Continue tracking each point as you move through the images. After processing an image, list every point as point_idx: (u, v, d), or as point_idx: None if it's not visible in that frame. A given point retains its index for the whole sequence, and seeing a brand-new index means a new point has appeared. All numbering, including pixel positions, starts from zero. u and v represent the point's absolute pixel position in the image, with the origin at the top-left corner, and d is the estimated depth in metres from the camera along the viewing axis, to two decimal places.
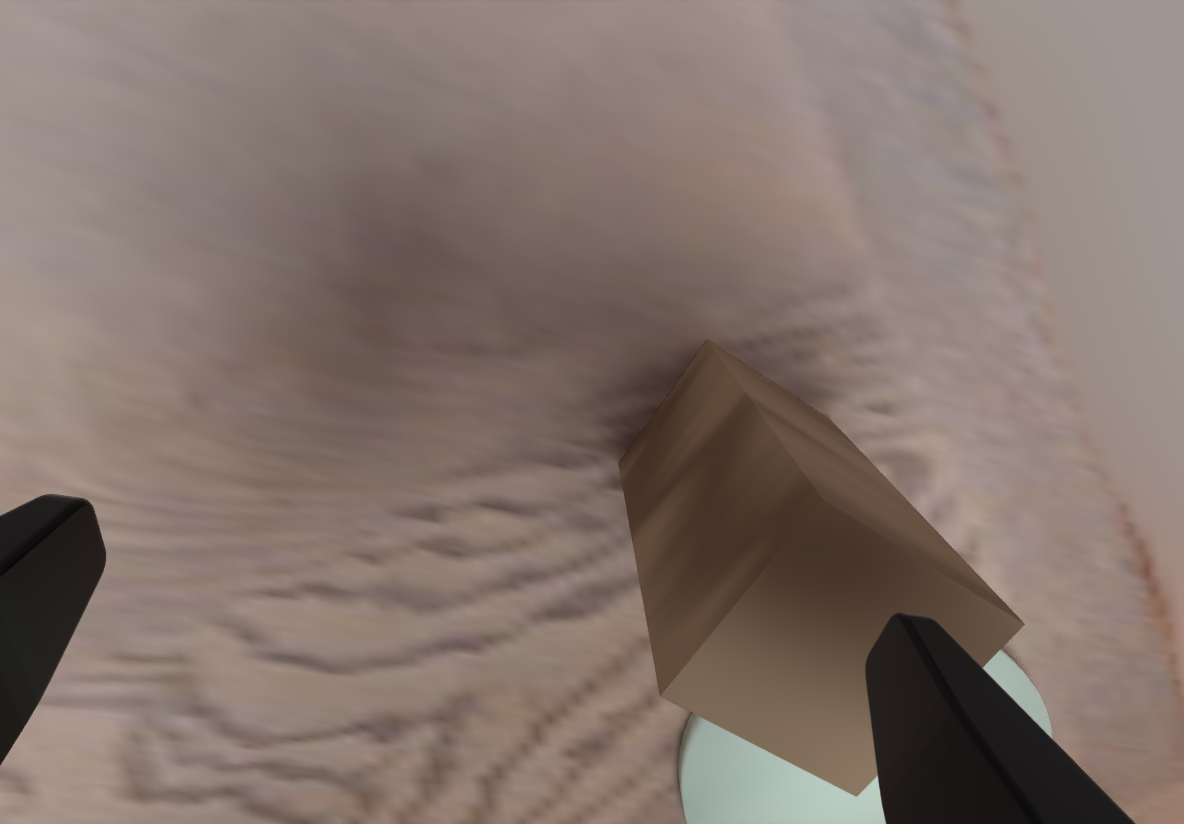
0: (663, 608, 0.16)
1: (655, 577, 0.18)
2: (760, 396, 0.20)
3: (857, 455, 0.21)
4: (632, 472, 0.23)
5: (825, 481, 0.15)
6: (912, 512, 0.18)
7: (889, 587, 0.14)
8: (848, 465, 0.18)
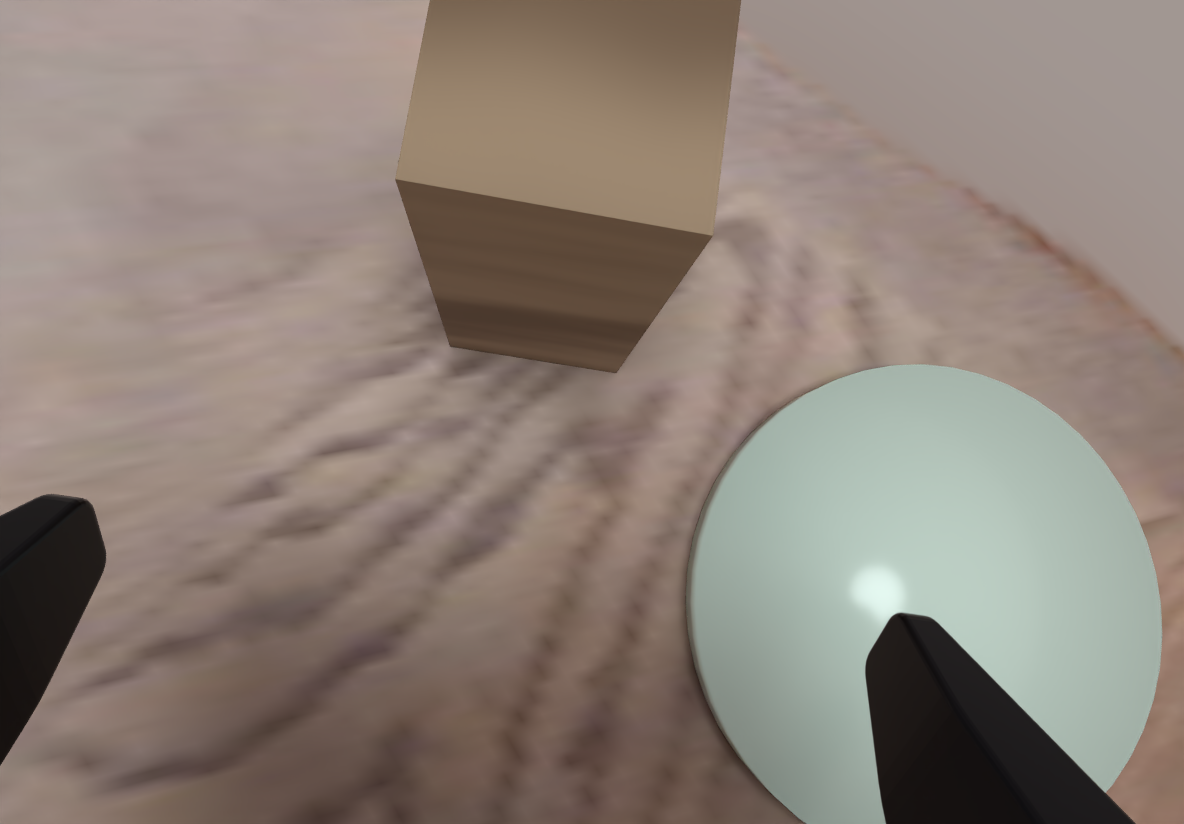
0: None
1: None
2: None
3: None
4: None
5: None
6: None
7: None
8: None
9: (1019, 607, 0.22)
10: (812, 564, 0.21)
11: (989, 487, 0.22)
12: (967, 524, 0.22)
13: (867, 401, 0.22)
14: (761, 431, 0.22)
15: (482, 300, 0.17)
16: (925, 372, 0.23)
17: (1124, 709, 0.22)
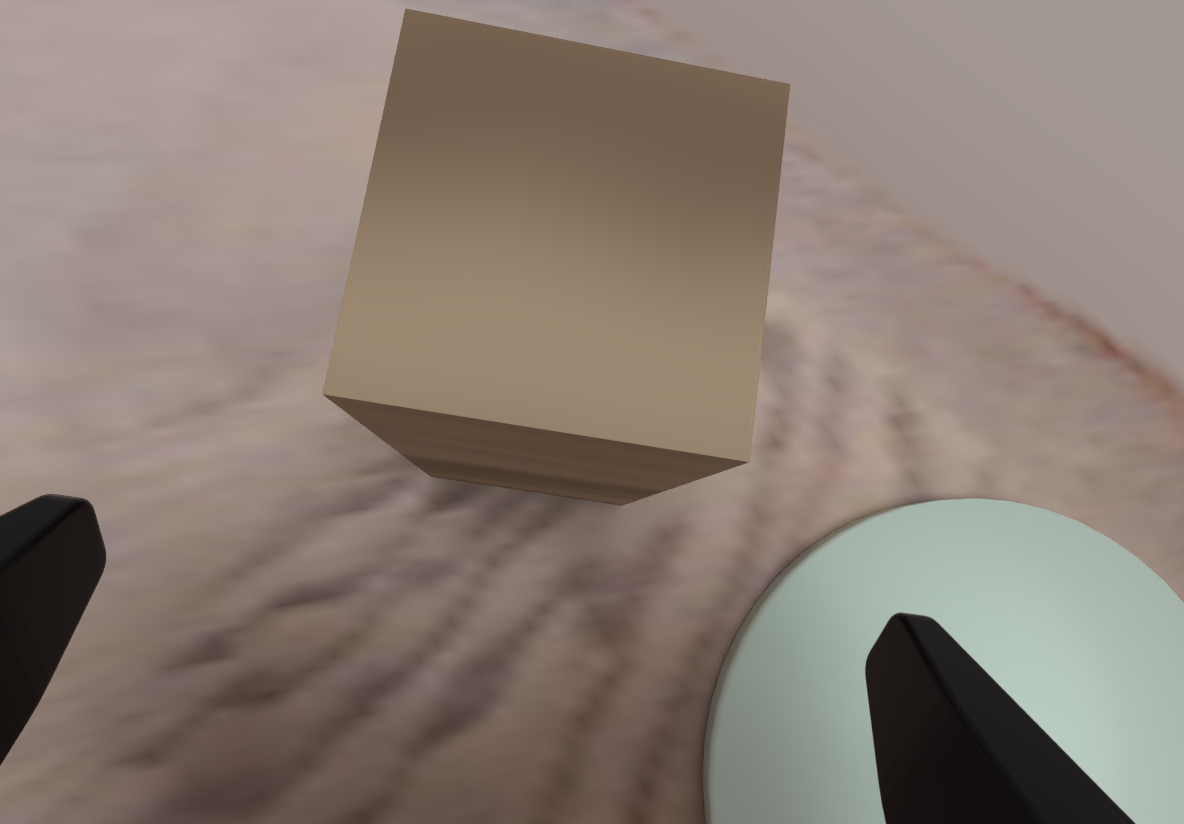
0: None
1: None
2: None
3: None
4: None
5: None
6: None
7: (571, 96, 0.09)
8: None
9: None
10: (852, 742, 0.18)
11: (1058, 646, 0.19)
12: (1033, 690, 0.19)
13: (914, 543, 0.19)
14: (791, 581, 0.19)
15: (459, 461, 0.14)
16: (981, 508, 0.19)
17: None
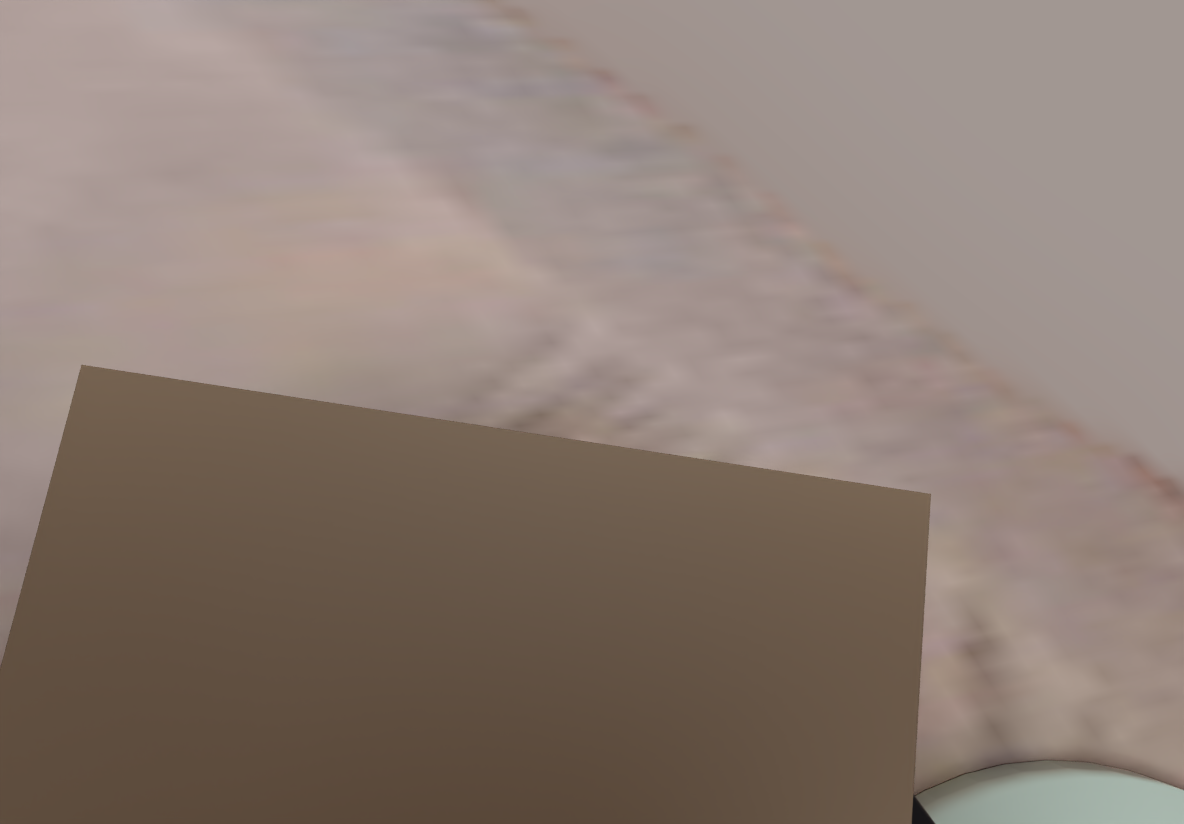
0: None
1: None
2: None
3: None
4: None
5: None
6: None
7: (453, 557, 0.04)
8: None
9: None
10: None
11: None
12: None
13: None
14: None
15: None
16: (1096, 792, 0.14)
17: None
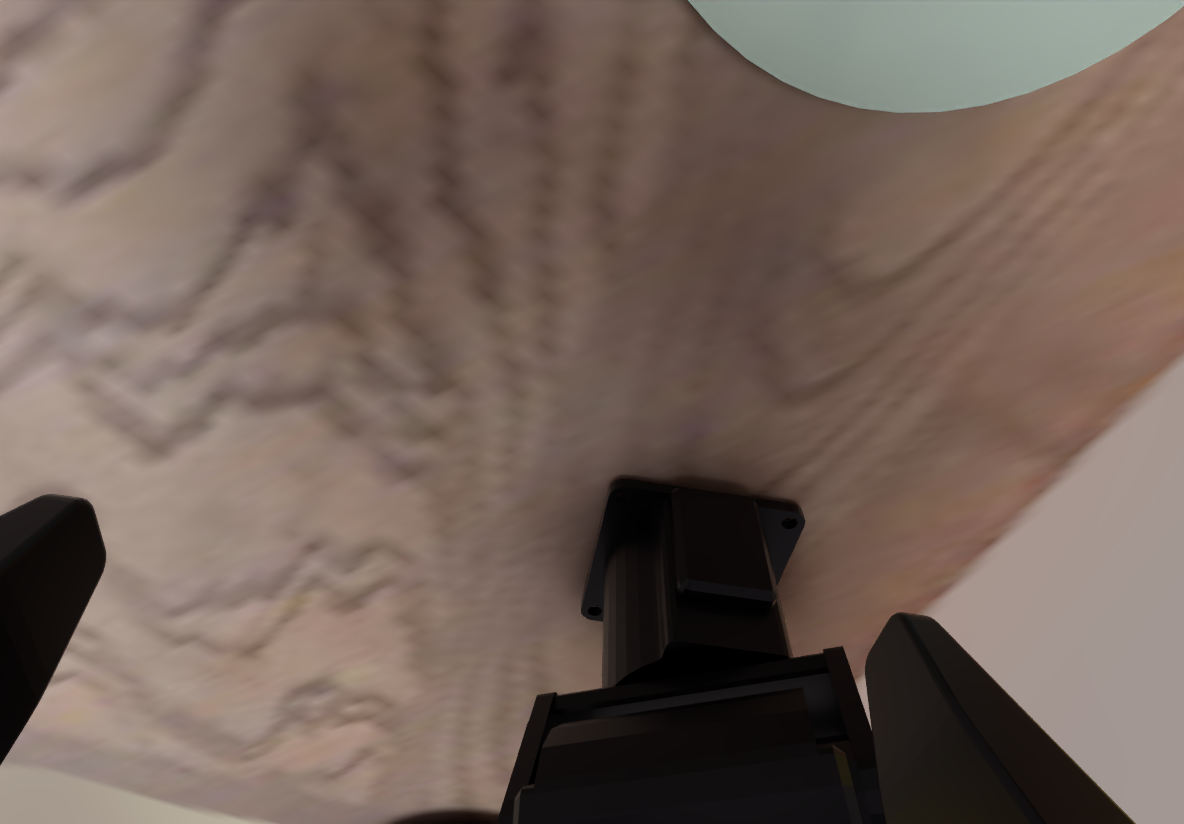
0: None
1: None
2: None
3: None
4: None
5: None
6: None
7: None
8: None
9: None
10: None
11: None
12: None
13: None
14: None
15: None
16: None
17: None
